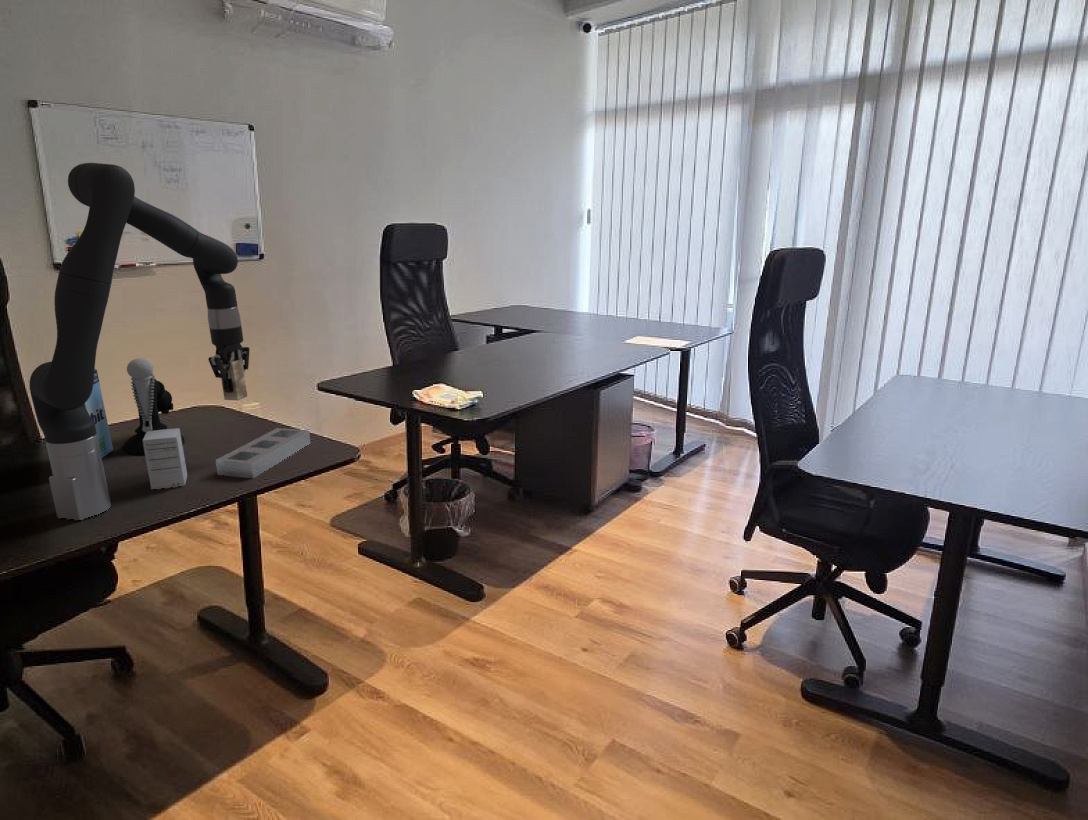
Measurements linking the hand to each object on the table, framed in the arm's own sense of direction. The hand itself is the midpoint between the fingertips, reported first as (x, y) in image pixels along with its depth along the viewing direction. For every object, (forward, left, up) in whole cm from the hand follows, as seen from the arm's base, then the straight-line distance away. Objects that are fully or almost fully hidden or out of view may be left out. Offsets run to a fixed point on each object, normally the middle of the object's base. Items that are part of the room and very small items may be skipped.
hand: (235, 389), depth 184 cm
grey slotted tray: (-2, -8, -18) cm, 20 cm away
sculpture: (+4, +31, -18) cm, 36 cm away
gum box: (-15, +36, -18) cm, 43 cm away
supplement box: (-22, +5, -18) cm, 29 cm away
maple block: (0, 0, -2) cm, 2 cm away
